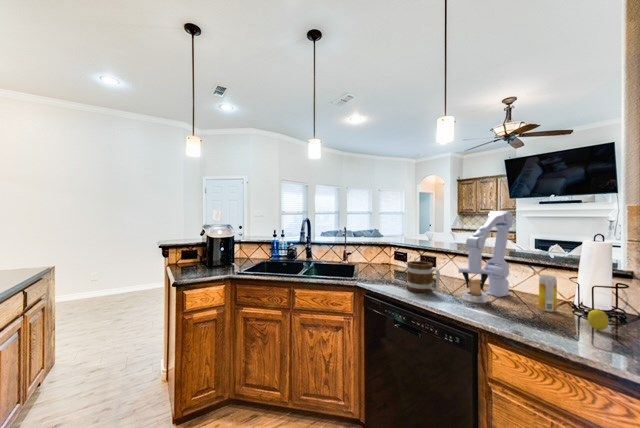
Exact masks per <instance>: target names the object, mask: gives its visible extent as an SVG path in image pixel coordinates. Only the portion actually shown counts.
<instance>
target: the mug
mask: <svg viewBox="0 0 640 428" xmlns="http://www.w3.org/2000/svg"><path fill="white" fill-rule="evenodd" d="M406 263H407V264H406V265H407V273H406V279H407V284H406V286H407V287H406V290H407V291H408V292H410V293H415V294H419V293H420V294H422V295H423V293H427V294H431V293H433V292H437V291H438V290H439V288H440V279H441V278H440V277H441V273H440V269H438V268H437V267H436V268H435V267H434V268H433V266H434V263H432V262H429V261H423V260H421V261H420V260H417V261H416V260H415V261H414V260H410V261H408V262H406ZM434 271H435V273H436V277H435V287H433V280H434V274H433V272H434Z"/></svg>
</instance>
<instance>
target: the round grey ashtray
mask: <svg viewBox="0 0 640 428" xmlns="http://www.w3.org/2000/svg"><path fill="white" fill-rule="evenodd" d="M461 299H462V300H464V301H466V302H469V303H476V304H486V303H488V300H489V294H486V293H485V292H483V291H481V295H472V294H470V289H468V290H462V292H461Z"/></svg>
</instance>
